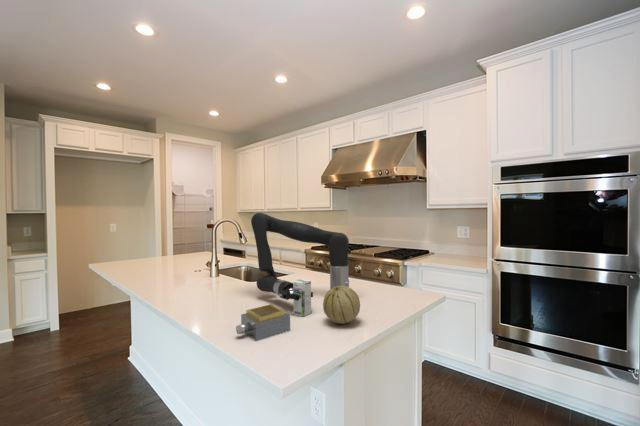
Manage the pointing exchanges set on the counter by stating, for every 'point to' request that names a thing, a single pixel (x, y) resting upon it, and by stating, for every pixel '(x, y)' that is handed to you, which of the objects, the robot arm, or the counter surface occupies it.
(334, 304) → the cantaloupe
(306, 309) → the syrup box
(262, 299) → the counter surface
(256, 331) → the tray
